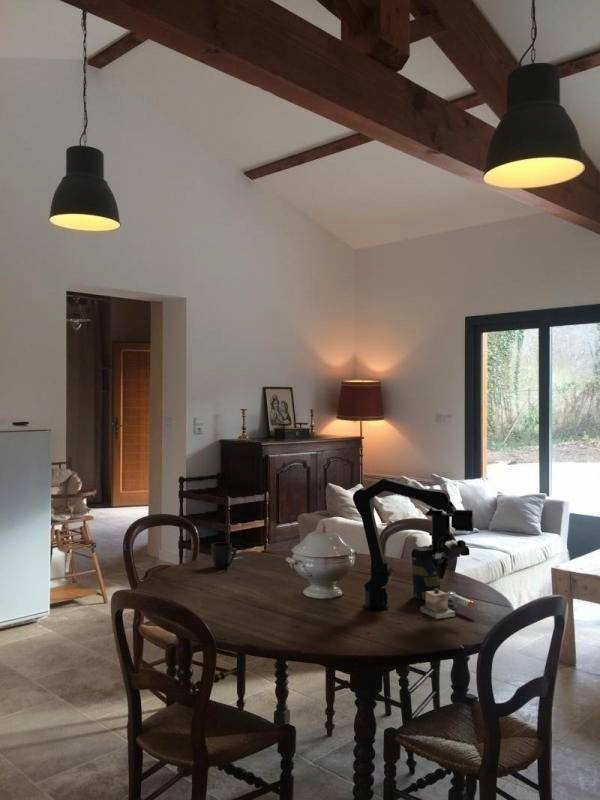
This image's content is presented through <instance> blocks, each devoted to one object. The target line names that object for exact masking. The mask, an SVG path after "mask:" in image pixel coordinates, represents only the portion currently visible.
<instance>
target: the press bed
mask: <svg viewBox="0 0 600 800" xmlns="http://www.w3.org/2000/svg"><path fill="white" fill-rule="evenodd" d="M420 612H422V613H423V614H426V615H427V616H429V617H432V618H434V619H435V620H438V619H439V620H440V619H446V618H453V617H456V611H455V610H454V609H448V610H440V611H433V610H431V609H429V608H427V607H426V605H422V606H420Z"/></svg>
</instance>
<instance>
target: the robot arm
mask: <svg viewBox="0 0 600 800" xmlns="http://www.w3.org/2000/svg"><path fill="white" fill-rule="evenodd" d="M383 492H389V493H392V494H395V495H397V496H398V495H399V496H403V497H405V498H406V497H407V498H410V499H414V500H417V501H419V502H422V503H423V504H425V505H426V506H429V507H430V508H429V509H428V511H426V512H425V513H424V515H425V516H427V517H431V531H429V533H428V534H429V536H430V537H431V544H429V545H428V546H429V548H431V549H432V550H429V549H426V548H423V546H421V547H422V548H417V547H413V549H412V550H411V558H412V557H414V558H416V559H419V560H430V561H431V563H432V564H433V566H434V568H435V571H436V573H437V575H438V578H439V579H440V580H442V579H444V576H445V574H446V571H447V568H448V566H449V564H450V563H451V561H453V560H455V559H456V558H460V557H461V556H462V557H465V556H470V548H469V547H468V545H467V544H466V541H465V540H464V539H460V540H454V538H453V537H454V536H453V534H452V533H451V532H450V530H451V529H450V528H452V529H454V530H455V532H457V531H458V532H471V533H472V532H473V533H474V528H475V526H474V525H475V519H474V513H473V511H474V510H473V509H457V508H456V506H455V505H454V504H453V502H452V501H451V496H450V493H449V492H448V491H446V490H445V489H437V488H436V489H435V488H423V487H419V486H416V485H411V484H408V483H405V482H401V481H397V480H394V479H390V477H389V478H388V477H383V478H381V479H379V481H377V482H375V483H374V484H372V485H371V486H368V487H361V488H360V489H357V490H356V491H355V492H354V493H353V495H352V501H353V504H354V506H355V508H356V511H357V513H358V514H359V515H360V518H361V521H362V525H363V530H364V534H365V538H366V542H367V547H368V551H369V556H370V578H369V579H368V580H367V582H366V583H365V584H364V585H363V586H364V590H365V591H364V594H365V595H364V599H365V600H364V603H363V604H362V606H363V607H364V608H366V609H368V610H369V611H371V612H373V611H381V610H382V611H383V610H389V609H390V608H389V607H390V606H388V593H387V589H386V586H387V585H388V583H389V582H390V581H391V579H392V578H393V573H394V569H393V567H392V560H391V559H388V560H387V558H386V557H385V555H384V552H383V547H382V543H381V539H380V535H379V530H378V526H377V521H376V517H375V497H377V496H378V495H380V494H382V493H383ZM450 519H451V520H450ZM450 522H451V523H450ZM450 525H451V526H450Z"/></svg>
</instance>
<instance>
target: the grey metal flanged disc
mask: <svg viewBox="0 0 600 800" xmlns="http://www.w3.org/2000/svg"><path fill="white" fill-rule="evenodd" d="M455 603H456V602H455V601H453V600H448V609H450V610H457V609H458V605H457V604H455Z"/></svg>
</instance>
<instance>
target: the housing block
mask: <svg viewBox="0 0 600 800" xmlns="http://www.w3.org/2000/svg"><path fill="white" fill-rule="evenodd" d="M425 606H426V607H427V608H429V609H431V610H433V611H440V610H448V594H447V593H446V592H444V591H442V590H441V591H440V590H439V589H438V588H435V589H434V591H426V600H425Z"/></svg>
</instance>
